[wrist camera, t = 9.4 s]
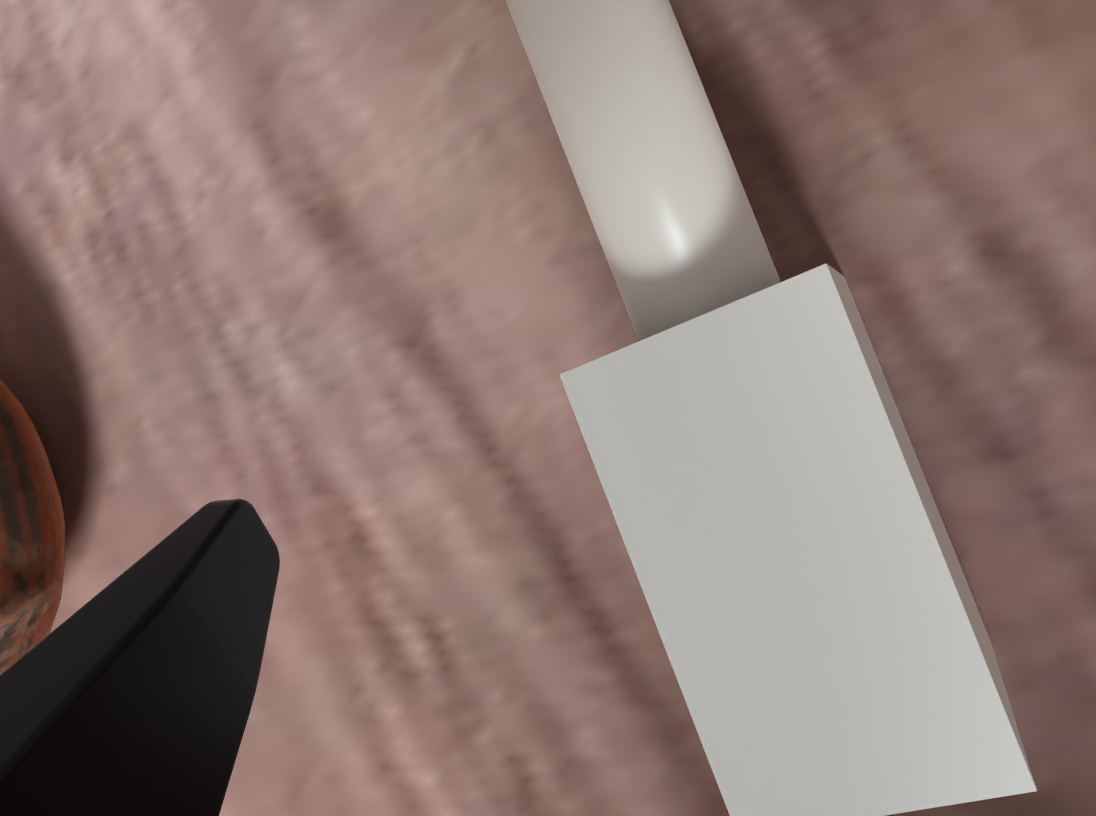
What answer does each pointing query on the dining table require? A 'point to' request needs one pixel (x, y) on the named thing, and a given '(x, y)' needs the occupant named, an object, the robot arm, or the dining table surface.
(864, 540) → the outer sleeve
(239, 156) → the dining table surface
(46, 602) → the bowl
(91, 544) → the dining table surface
